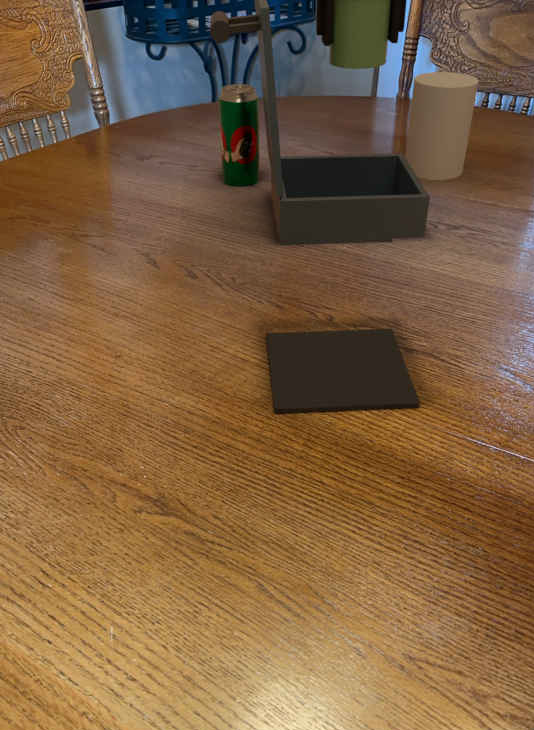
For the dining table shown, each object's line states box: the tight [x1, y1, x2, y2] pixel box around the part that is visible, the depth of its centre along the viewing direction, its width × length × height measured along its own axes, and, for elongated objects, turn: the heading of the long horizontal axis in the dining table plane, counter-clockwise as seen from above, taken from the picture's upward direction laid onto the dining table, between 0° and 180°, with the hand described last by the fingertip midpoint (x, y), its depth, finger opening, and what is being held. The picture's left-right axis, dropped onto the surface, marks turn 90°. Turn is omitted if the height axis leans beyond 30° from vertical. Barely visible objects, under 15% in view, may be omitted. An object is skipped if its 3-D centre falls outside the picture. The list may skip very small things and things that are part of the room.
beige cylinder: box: [404, 71, 479, 181], centre depth 94 cm, size 8×8×12 cm
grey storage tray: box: [270, 153, 431, 246], centre depth 84 cm, size 17×15×6 cm
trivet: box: [265, 328, 421, 415], centre depth 62 cm, size 12×12×1 cm
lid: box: [209, 0, 284, 197], centre depth 76 cm, size 17×15×6 cm
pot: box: [328, 0, 391, 70], centre depth 72 cm, size 7×7×7 cm
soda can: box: [218, 83, 261, 188], centre depth 92 cm, size 5×5×12 cm
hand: (359, 40), depth 73 cm, fingers closed on pot, 6 cm apart
